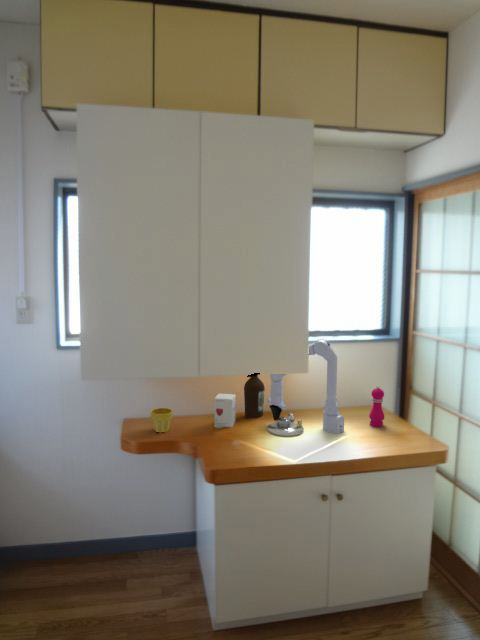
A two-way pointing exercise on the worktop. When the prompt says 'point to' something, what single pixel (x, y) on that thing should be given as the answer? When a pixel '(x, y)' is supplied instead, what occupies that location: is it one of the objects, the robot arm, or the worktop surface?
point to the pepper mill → (377, 408)
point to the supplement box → (224, 410)
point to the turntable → (286, 429)
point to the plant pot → (161, 419)
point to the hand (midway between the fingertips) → (276, 420)
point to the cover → (283, 422)
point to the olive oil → (254, 397)
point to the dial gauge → (291, 417)
